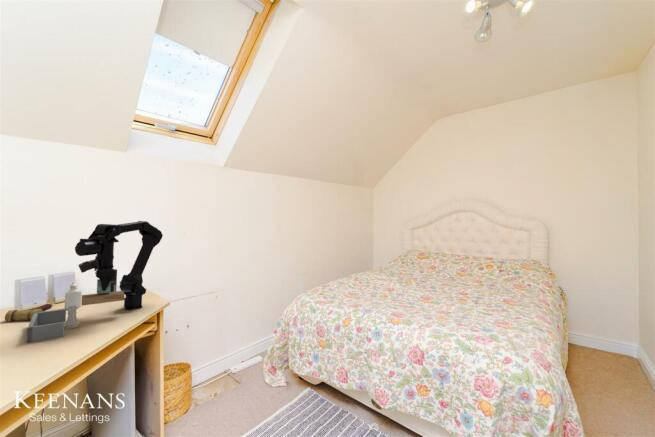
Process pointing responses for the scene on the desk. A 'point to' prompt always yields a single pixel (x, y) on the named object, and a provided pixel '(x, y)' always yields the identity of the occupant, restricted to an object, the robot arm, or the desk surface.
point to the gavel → (25, 313)
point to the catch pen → (46, 325)
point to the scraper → (102, 295)
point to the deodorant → (114, 282)
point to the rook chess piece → (71, 318)
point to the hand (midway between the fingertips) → (103, 289)
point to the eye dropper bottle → (73, 296)
